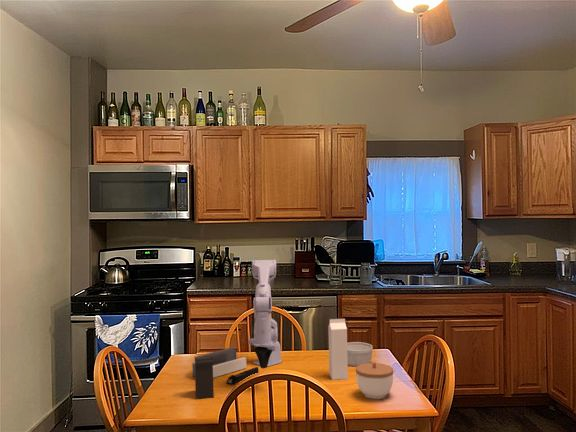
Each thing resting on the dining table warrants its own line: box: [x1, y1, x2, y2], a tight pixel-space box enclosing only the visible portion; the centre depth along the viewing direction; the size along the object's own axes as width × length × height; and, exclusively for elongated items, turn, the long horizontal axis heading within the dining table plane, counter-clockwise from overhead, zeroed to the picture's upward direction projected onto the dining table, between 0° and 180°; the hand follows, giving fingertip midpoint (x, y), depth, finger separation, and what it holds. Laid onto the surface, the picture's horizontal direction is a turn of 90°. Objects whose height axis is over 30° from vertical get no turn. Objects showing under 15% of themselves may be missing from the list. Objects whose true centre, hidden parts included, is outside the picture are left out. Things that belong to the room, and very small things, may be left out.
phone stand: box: [194, 359, 215, 400], centre depth 172 cm, size 9×6×12 cm, turn 11°
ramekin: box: [347, 341, 373, 367], centre depth 205 cm, size 13×13×7 cm
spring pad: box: [213, 356, 247, 379], centre depth 193 cm, size 21×2×6 cm, turn 134°
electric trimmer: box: [225, 366, 260, 386], centre depth 187 cm, size 4×16×3 cm, turn 141°
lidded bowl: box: [355, 361, 394, 400], centre depth 168 cm, size 13×13×11 cm
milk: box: [327, 318, 349, 381], centre depth 187 cm, size 6×6×22 cm
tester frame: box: [191, 346, 237, 378], centre depth 196 cm, size 21×8×7 cm, turn 134°
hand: (263, 367), depth 178 cm, fingers closed
